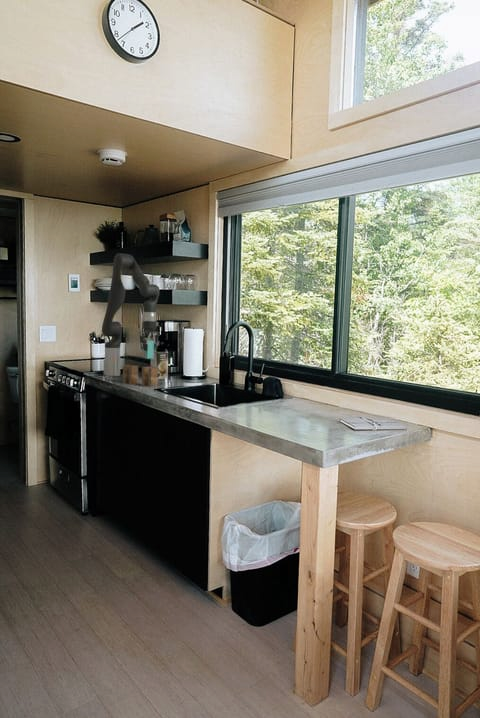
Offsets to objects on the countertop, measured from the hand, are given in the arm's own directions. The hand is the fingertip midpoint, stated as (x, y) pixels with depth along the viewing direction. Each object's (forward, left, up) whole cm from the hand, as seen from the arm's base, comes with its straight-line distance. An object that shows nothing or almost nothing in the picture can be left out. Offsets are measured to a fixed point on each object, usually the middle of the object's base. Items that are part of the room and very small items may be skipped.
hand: (149, 350), depth 295 cm
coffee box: (-12, +21, -19) cm, 31 cm away
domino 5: (+8, -5, -19) cm, 21 cm away
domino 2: (-7, -5, -19) cm, 21 cm away
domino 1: (-12, -5, -19) cm, 23 cm away
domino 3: (0, 0, -4) cm, 4 cm away
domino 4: (+3, -5, -19) cm, 20 cm away
